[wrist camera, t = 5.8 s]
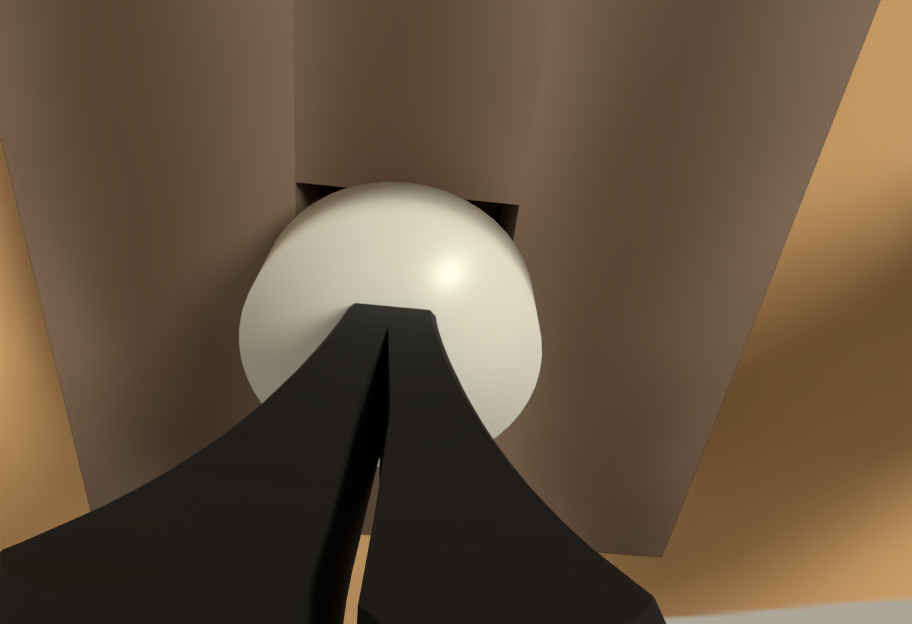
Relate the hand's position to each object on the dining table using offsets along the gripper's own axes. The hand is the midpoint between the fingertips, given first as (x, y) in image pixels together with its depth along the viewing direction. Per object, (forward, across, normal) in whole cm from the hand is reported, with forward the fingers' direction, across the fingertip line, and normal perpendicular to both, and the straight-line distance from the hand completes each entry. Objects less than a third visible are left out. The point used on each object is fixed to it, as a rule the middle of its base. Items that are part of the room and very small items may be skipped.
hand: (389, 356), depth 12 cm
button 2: (+4, 0, 0) cm, 4 cm away
